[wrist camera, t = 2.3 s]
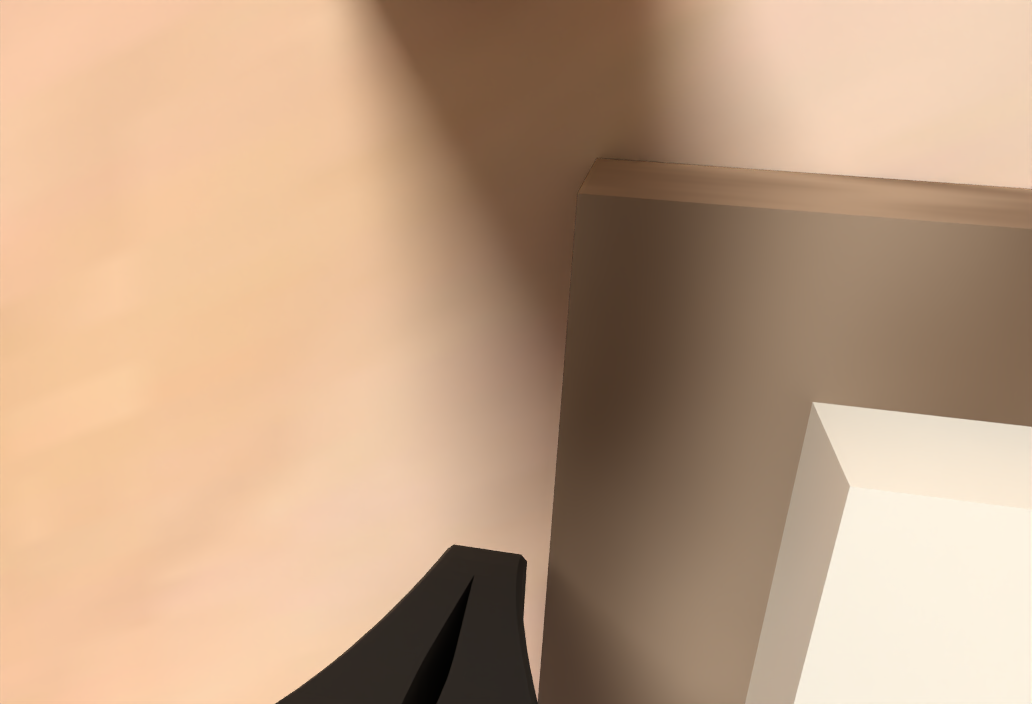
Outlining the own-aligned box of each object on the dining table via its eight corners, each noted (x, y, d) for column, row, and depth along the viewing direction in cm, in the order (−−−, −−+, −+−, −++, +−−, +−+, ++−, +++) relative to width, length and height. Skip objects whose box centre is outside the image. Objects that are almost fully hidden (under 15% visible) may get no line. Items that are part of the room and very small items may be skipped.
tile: (732, 757, 15) (746, 886, 13) (812, 402, 12) (849, 486, 10) (1057, 817, 14) (1135, 966, 12) (1235, 450, 11) (1386, 555, 9)
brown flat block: (547, 734, 21) (524, 877, 17) (596, 158, 15) (577, 193, 11) (1086, 833, 19) (1187, 1018, 15) (1401, 215, 13) (1696, 281, 9)
